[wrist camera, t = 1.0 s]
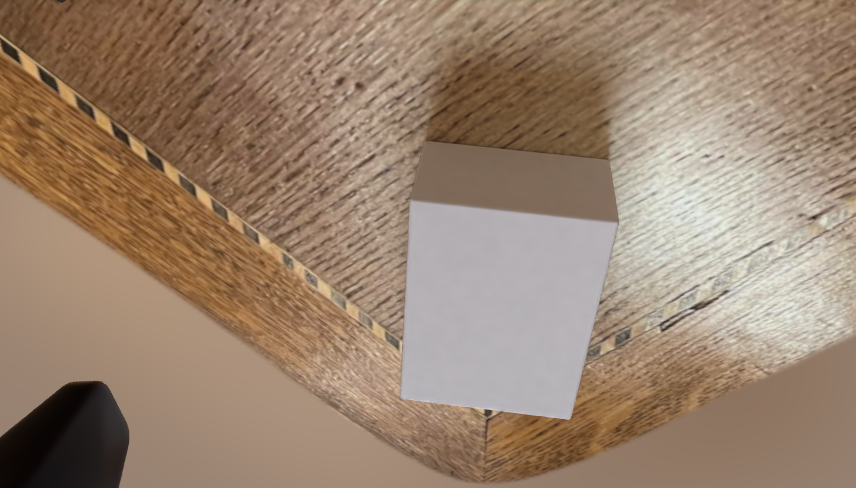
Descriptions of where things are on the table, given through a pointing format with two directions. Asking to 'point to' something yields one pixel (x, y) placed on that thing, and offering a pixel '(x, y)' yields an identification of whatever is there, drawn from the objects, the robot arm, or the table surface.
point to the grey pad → (504, 276)
